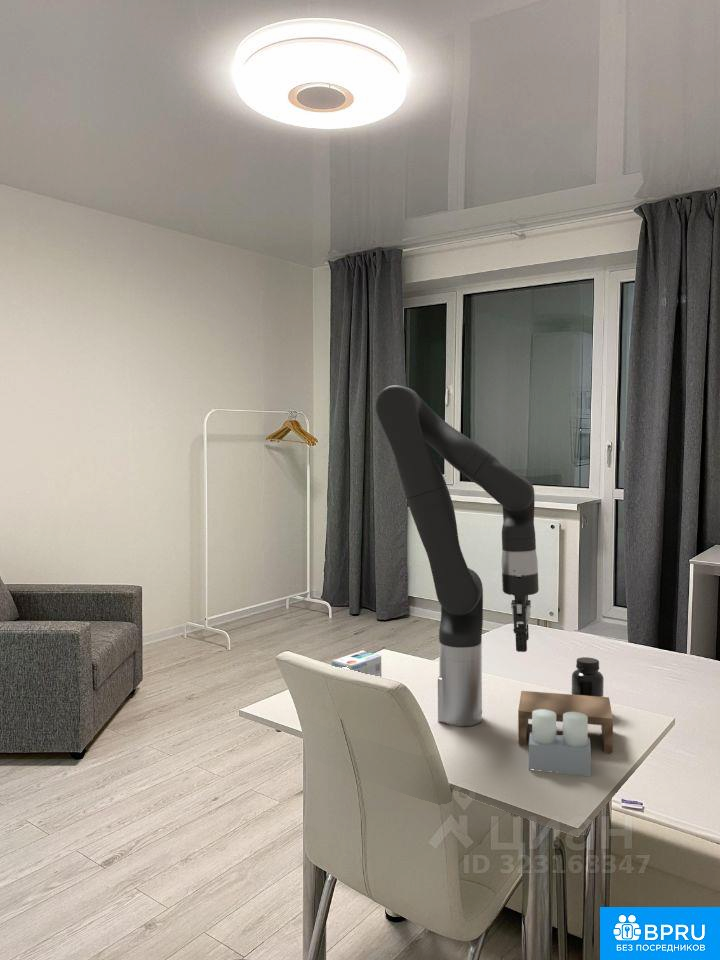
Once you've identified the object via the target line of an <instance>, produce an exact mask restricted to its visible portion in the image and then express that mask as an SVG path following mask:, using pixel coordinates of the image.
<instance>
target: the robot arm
mask: <svg viewBox="0 0 720 960" xmlns="http://www.w3.org/2000/svg"><path fill="white" fill-rule="evenodd" d="M375 411H376V416H377V418H378V421H379V422H380V425H381V427H382V429H383V431H384V433H385V434H384V435H385V436H386V438H387V440H388V442H389V444H390V447H391V450H392V453H393V455H394V458H395V463H396V465H397V470H398V474H399V478H400V482H401V485H402V488H403V491H404V496H405V498H406V502H407V505H408V507H409V510H410V513H411V516H412V518H413V522H414V524H415V527H416V530H417V533H418V535H419V538H420V539H421V543H422V545H423V548H424V550H425V553H426V555H427V558H428V563H429V566H430V571H431V575H432V579H433V583H434V589H435V595H436V597H437V600H438V603H439V605H440V612H441V613H440V624H439V631H438V643H439V644H438V645H439V649H438V654H439V655H438V656H439V657H438V658H439V664H438V665H439V668H438V669H439V672H438V673H439V676H438V677H437V722H440V723H445V724H447V725H450V726H456V727H469V726H475V725H477V724H480V723H481V722H482V720H483V676H482V675H483V673H482V672H483V667H482V666H483V663H482V662H483V656H482V655H483V653H482V648H483V646H482V643H483V642H482V638H483V637H482V635H483V624H484V615H483V614H484V613H483V612H484V608H483V607H484V588H483V583H482V580H481V577H480V576H479V575H478V573H477V572H476V571H474V569H471V568H469V567H468V565H467V562H466V559H465V557H464V555H463V552H462V549H461V545H460V541H459V533H458V525H457V524H458V523H457V518H456V513H455V507H454V503H453V500H452V496H451V494H450V490H449V487H448V486H447V482H446V480H445V477H444V474H443V473H442V471H441V469H440V467H439V465H438V464H437V461H436V460H435V458H434V456H433V455H432V453H431V451H430V449H429V448H428V445H429V446H430V447H431V448H433V450H435V451H436V452H437V453H438V454H439V455H440V456H441V457H442V458H443V459H444V460H445V461H446V462H448V464H450V465H451V466H452V467H453V468H454V469H455V470H457V471H458V472H459V473H461V474H462V475H463V476H465V477H466V478H467V479H469V480H470V481H472V483H474V484H476V485H478V486H479V487H480V488H481V489H483V490H484V491H485V492H486V493H487V494H488V495H489V496H490V497H492V499H494V500H495V501H496V502H497V503H498V504H499V505H501V506H502V517H503V518H502V519H503V520H502V521H503V522H502V523H503V524H502V527H501V548H502V549H501V551H502V553H501V580H502V581H501V582H502V583H501V584H502V592H503V593H504V594H505V595H508V596H509V595H510V596H512V595H513V597H514V599H512V600H511V602H510V609H511V612H512V613H511V615H512V617H511V619H512V620H511V621H512V624H513V629H512V630H513V633H514V634H515V650H516V652H519V653H520V652H521V653H525V652H527V651H528V643H527V642H528V641H529V638H530V637H529V624H530V617H531V609H532V601H531V599H529V596H532V595H535V594H537V593H539V590H540V588H539V565H538V556H537V545H536V543H537V542H536V540H537V539H536V530H535V489H534V486H533V484H532V482H531V481H530V480H528V478H525V477H524V476H519V475H517V474H516V473H514V472H513V471H511V470H510V469H508V468H507V467H506V466H504V464H502V463H501V462H500V461H499V459H498V458H497V457H495V456H494V455H493V454H491V453H490V452H489V451H488V450H486V449H485V448H484V447H482V446H480V445H479V444H478V443H476V442H475V441H473V440H472V439H470V438H469V437H468V436H466V435H464V434H463V433H462V432H460V431H459V430H457V429H456V428H454V427H453V426H452V425H450V424H449V423H447V422H446V421H445V420H444V419H442V418H441V417H440V416H439V415H438V414H437V413H436V412H435V411H434V410H433V409H432V408H431V407H429V405H428V404H427V402H425V401H424V400H423V398H421V397H420V396H419V395H418V393H417V392H416V391H415V390H413V389H412V388H410V387H408V386H404V385H396V384H395V385H389V386H387V387H385V388H383V389H382V390H381V391H380V392H379V394H378V396H377V397H376V402H375ZM427 444H428V445H427Z"/></svg>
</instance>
